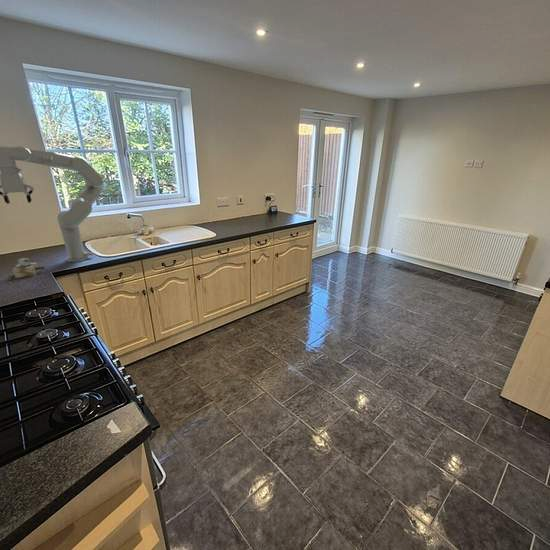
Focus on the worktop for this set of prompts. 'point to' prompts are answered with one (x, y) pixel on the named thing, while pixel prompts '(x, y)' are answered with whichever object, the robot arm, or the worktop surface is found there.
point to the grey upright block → (24, 262)
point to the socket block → (26, 270)
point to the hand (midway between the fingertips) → (19, 202)
